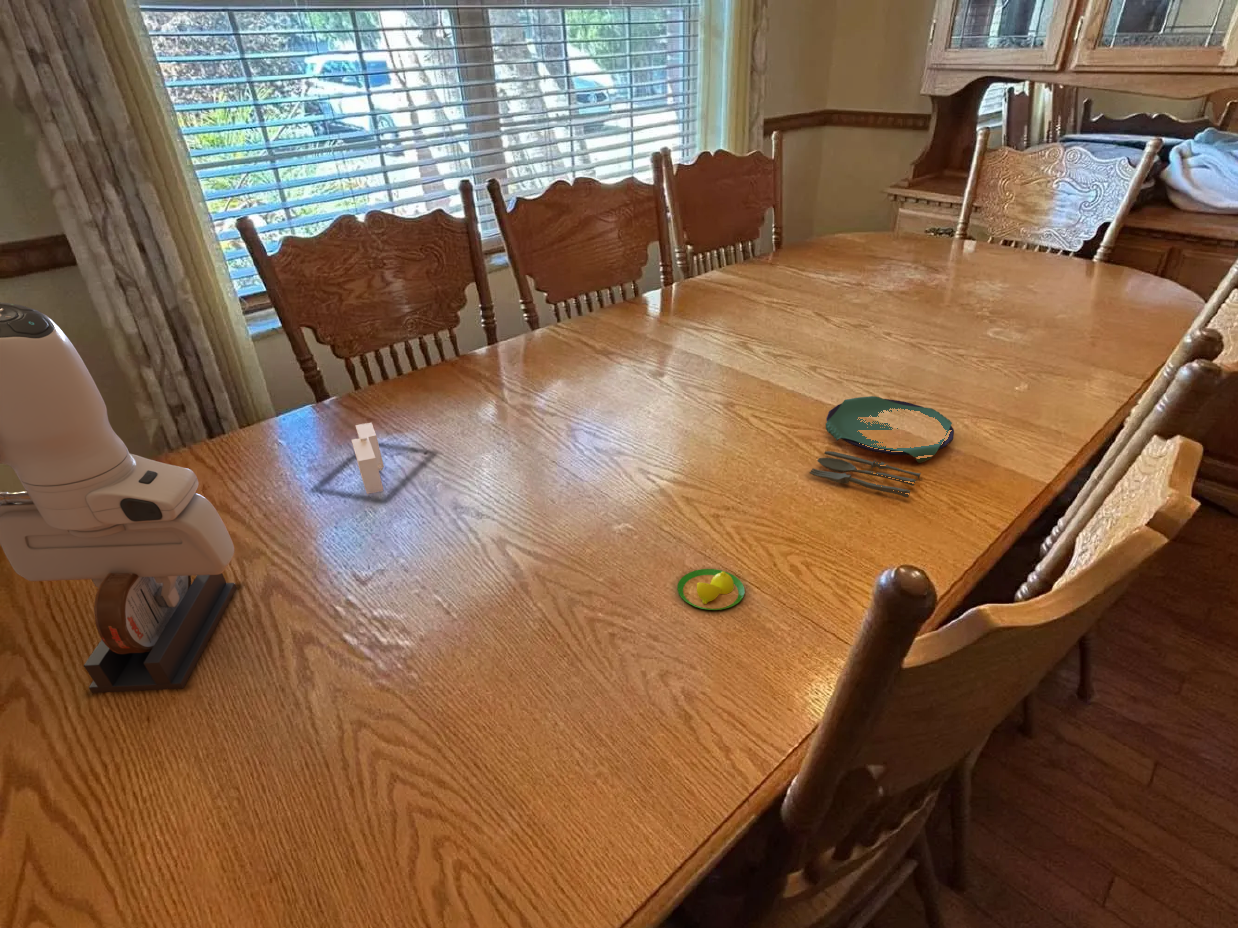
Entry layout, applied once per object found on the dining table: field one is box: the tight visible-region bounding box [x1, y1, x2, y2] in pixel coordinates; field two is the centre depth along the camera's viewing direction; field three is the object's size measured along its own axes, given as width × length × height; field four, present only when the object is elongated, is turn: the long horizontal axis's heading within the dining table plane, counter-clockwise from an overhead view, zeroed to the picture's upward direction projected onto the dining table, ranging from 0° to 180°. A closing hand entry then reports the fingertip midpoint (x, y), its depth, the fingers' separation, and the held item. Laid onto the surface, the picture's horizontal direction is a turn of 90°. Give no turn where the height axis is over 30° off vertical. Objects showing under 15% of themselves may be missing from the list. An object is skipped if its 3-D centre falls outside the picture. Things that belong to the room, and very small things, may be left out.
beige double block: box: [351, 422, 385, 495], centre depth 108 cm, size 15×11×6 cm
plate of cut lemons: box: [677, 568, 746, 611], centre depth 88 cm, size 8×8×3 cm
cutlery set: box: [809, 395, 955, 498], centre depth 116 cm, size 20×30×2 cm, turn 151°
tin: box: [93, 573, 192, 654], centre depth 78 cm, size 15×3×8 cm, turn 4°
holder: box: [83, 573, 238, 694], centre depth 81 cm, size 9×17×4 cm, turn 4°
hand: (152, 604), depth 79 cm, fingers closed on tin, 2 cm apart
